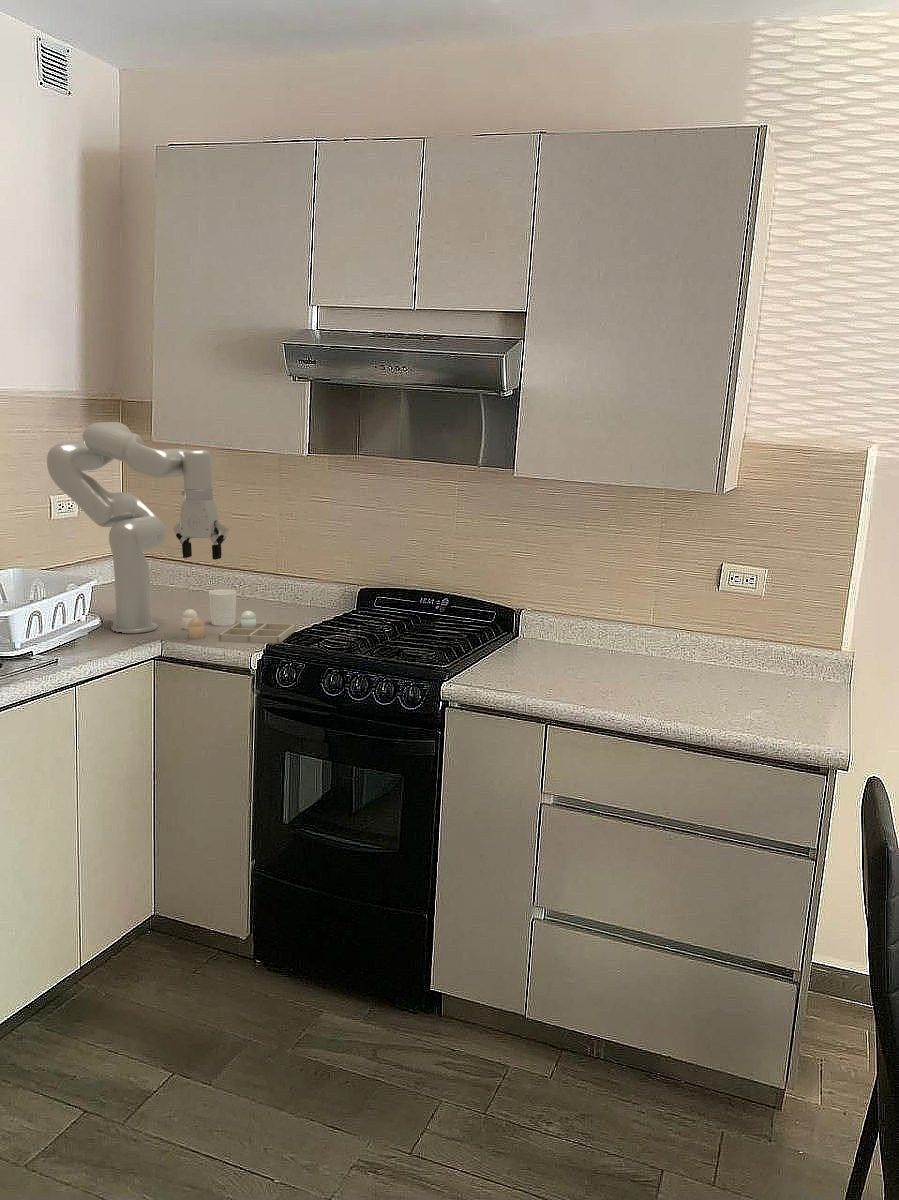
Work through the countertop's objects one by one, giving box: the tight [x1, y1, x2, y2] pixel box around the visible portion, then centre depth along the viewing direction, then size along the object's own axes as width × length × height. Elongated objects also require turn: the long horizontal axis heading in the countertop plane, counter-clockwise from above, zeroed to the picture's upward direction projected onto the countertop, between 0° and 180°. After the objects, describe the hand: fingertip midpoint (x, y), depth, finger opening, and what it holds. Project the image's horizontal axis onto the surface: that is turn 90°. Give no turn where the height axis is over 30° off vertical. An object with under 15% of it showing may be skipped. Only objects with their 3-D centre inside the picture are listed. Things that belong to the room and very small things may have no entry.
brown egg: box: [188, 617, 205, 640], centre depth 291 cm, size 4×4×6 cm
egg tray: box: [218, 621, 297, 645], centre depth 294 cm, size 17×17×2 cm
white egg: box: [182, 608, 199, 631], centre depth 302 cm, size 4×4×6 cm
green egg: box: [240, 610, 257, 629], centre depth 298 cm, size 4×4×6 cm
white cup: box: [208, 589, 237, 627], centre depth 309 cm, size 8×8×10 cm
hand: (202, 558), depth 289 cm, fingers open, 9 cm apart
